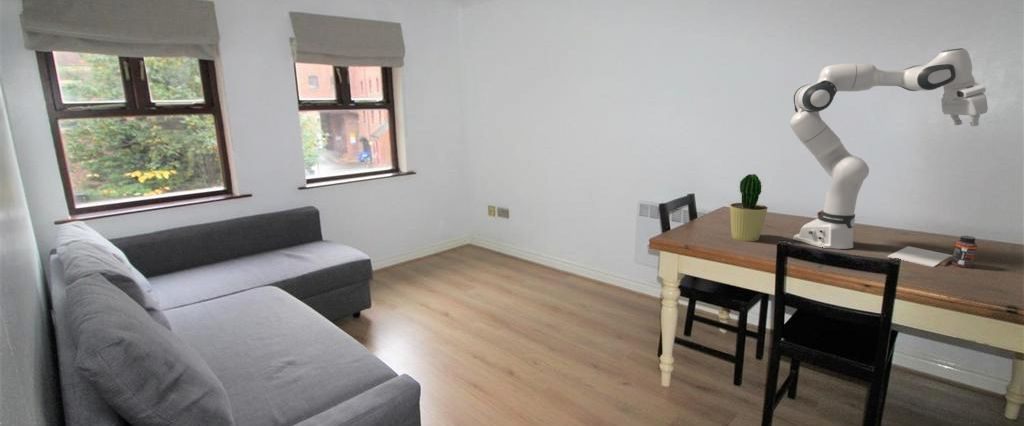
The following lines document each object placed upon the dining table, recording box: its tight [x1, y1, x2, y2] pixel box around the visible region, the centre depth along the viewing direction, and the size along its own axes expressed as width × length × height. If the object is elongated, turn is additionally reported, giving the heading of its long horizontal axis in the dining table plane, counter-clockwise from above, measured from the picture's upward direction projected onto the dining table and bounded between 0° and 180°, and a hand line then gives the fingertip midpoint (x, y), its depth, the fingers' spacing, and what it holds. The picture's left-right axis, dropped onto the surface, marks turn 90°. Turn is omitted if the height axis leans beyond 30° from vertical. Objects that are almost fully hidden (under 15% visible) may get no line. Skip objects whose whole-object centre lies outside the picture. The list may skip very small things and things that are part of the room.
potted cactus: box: [729, 173, 768, 242], centre depth 217 cm, size 15×15×30 cm
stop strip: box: [938, 256, 953, 267], centre depth 186 cm, size 2×12×1 cm, turn 124°
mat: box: [886, 245, 953, 268], centre depth 193 cm, size 15×22×1 cm, turn 124°
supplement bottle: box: [951, 235, 978, 269], centre depth 181 cm, size 6×6×11 cm
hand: (966, 125), depth 186 cm, fingers open, 8 cm apart
